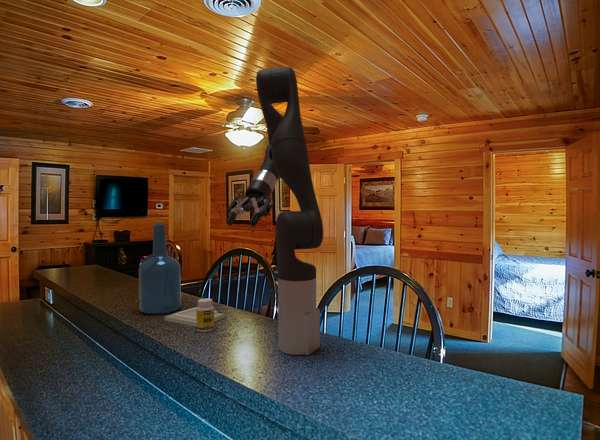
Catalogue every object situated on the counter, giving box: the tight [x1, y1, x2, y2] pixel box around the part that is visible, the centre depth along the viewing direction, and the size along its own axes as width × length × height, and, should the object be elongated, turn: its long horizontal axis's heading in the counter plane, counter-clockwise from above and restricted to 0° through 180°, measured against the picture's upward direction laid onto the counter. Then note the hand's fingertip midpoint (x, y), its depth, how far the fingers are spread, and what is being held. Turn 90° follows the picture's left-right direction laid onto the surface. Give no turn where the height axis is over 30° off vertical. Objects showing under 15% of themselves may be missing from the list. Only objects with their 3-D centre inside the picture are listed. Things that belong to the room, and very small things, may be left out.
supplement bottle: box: [196, 297, 215, 333], centre depth 108 cm, size 5×5×8 cm
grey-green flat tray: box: [164, 306, 225, 328], centre depth 119 cm, size 14×11×2 cm
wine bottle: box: [138, 220, 182, 315], centre depth 129 cm, size 14×13×30 cm
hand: (240, 224), depth 115 cm, fingers open, 8 cm apart
